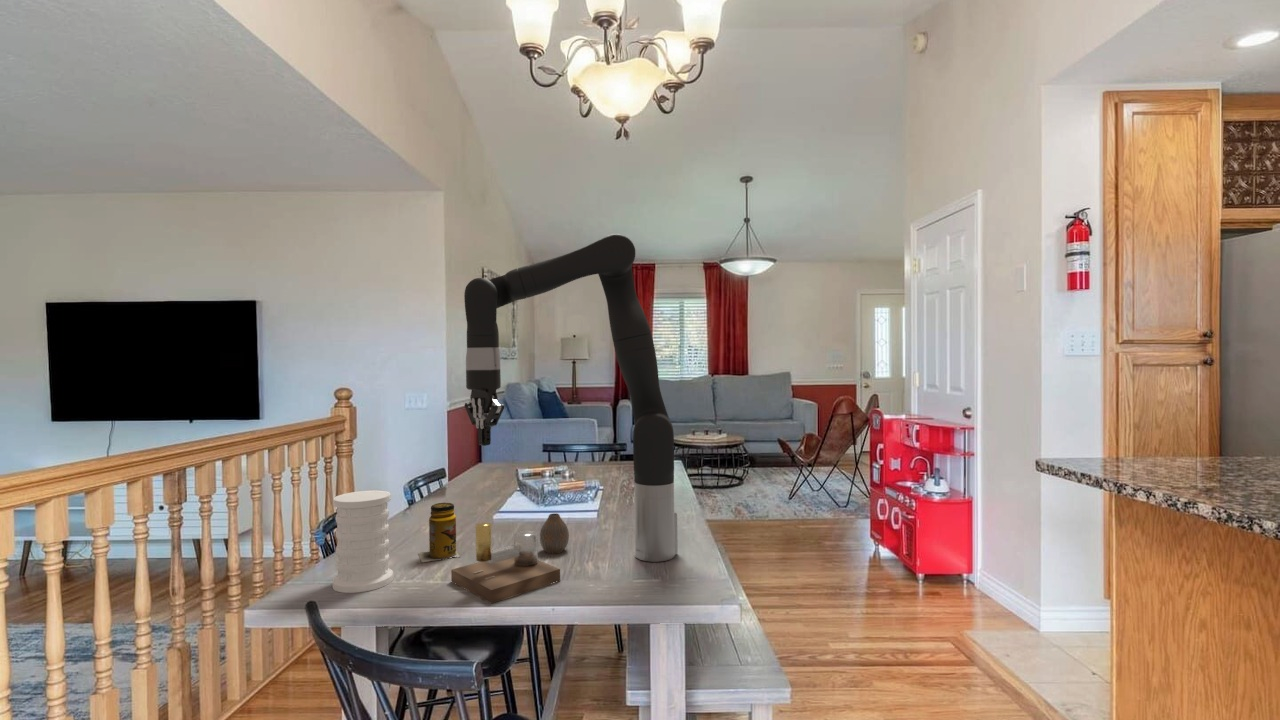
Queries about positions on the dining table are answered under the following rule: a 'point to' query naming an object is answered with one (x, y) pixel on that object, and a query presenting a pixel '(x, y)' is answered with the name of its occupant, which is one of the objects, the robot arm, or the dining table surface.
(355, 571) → the decorative container
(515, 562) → the crank handle
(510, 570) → the stand
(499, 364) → the robot arm
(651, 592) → the dining table surface
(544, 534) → the vase
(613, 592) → the dining table surface
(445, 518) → the condiment
